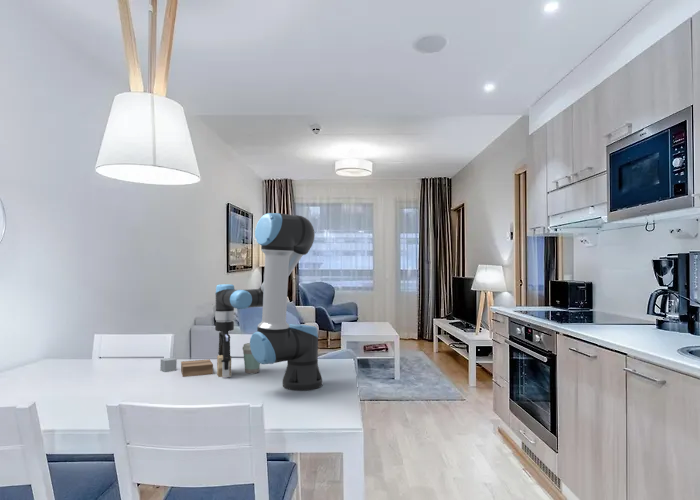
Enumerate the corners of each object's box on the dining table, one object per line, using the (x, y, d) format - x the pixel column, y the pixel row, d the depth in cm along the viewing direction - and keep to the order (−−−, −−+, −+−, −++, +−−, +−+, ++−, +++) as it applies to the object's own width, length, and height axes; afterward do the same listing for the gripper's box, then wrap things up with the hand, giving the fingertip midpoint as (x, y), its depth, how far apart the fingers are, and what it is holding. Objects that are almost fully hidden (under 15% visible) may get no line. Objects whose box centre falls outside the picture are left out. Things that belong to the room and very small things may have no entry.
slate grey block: (176, 370, 196) (176, 359, 197) (164, 372, 193) (165, 360, 193) (171, 368, 200) (171, 357, 200) (160, 370, 197) (160, 359, 197)
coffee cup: (264, 370, 197) (264, 342, 198) (258, 374, 189) (259, 346, 189) (245, 369, 198) (246, 342, 199) (239, 374, 190) (239, 345, 190)
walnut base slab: (212, 374, 190) (213, 364, 190) (182, 376, 185) (182, 367, 185) (209, 368, 201) (209, 359, 201) (181, 370, 196) (181, 361, 196)
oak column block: (231, 376, 186) (231, 356, 187) (218, 377, 184) (219, 357, 185) (229, 373, 191) (229, 354, 191) (217, 374, 189) (217, 355, 189)
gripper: (238, 323, 180) (237, 379, 179) (229, 317, 200) (228, 368, 199) (219, 324, 177) (218, 381, 176) (212, 318, 197) (211, 370, 196)
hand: (223, 374), depth 188 cm, fingers open, 9 cm apart
